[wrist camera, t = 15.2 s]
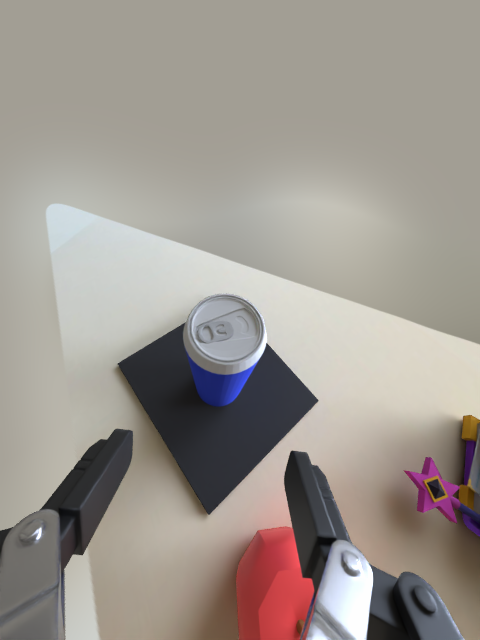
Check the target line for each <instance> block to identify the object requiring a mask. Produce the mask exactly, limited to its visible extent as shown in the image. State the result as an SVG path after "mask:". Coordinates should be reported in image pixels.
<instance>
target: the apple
mask: <svg viewBox="0 0 480 640" xmlns="http://www.w3.org/2000/svg"><path fill="white" fill-rule="evenodd" d="M236 587H237V608H238V628H239V640H299V639H300V635H301V632H302V629H303V625H304V622H305V619H306V615H307V612H308V609H309V605H310V602H311V599H312V595H313V593H314V587H313V582H312V579H310V578H303V577H302V572H301V567H300V562H299V557H298V552H297V547H296V542H295V537H294V532H293V528H290V527H286V526H285V527H278V528H272V529H265V530H258V531H257V533H256V535H255V536H254V538H253V540H252V541H251V543H250V545H249V547H248V548H247V550H246V552H245V553H244V555H243V557H242V559H241V560H240V562H239V566H238V571H237V576H236Z"/></svg>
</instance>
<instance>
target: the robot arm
mask: <svg viewBox="0 0 480 640" xmlns="http://www.w3.org/2000/svg"><path fill="white" fill-rule="evenodd" d="M132 446H133V431H131V430H123V429H115V430H114V431H113V433H112V434H111V435H110V437H109V438H108V440H103V439H101V440H99V441H98V442H96V443H95V444H94V445H92V446H91V447H90V448H89V449H88V450H87V451H86V453H85V454H84V455H83V456H82V458H81V460H79V461H78V463H77V464H76V465H75V467H74V469H73V470H71V472H70V473H69V474H68V475H67V477H66V478H65V479H64V481H63V482H62V483H61V484H60V486H59V487H58V488H57V489H56V491H55V492H54V493H53V494H52V496H51V497H50V498H49V500H48V501H47V502H46V504H45V505H44V506H43V507H42V508H41V509H40V510H39V511H37V512H34V513H32V514H30V515H28V516H27V517H25V518H24V519H22V520H21V521H20V522H19V523H18V524H16V525H15V526H14V527H12V528H9V529H5V530H2V531H0V640H65V581H64V580H65V578H64V577H65V574H64V569H65V567H66V565H67V564H68V562H69V560H70V558H71V556H72V555H73V554H76V555H83V554H84V552H85V550H86V548H87V546H88V544H89V542H90V540H91V538H92V537H93V535H94V533H95V531H96V529H97V527H98V525H99V523H100V521H101V519H102V518H103V516H104V514H105V512H106V510H107V508H108V506H109V504H110V502H111V500H112V498H113V497H114V495H115V493H116V491H117V489H118V487H119V485H120V483H121V481H122V479H123V478H124V476H125V474H126V472H127V470H128V468H129V465H130V462H131V459H132ZM284 485H285V491H286V496H287V501H288V507H289V512H290V517H291V522H292V527H293V532H294V537H295V542H296V547H297V552H298V557H299V562H300V567H301V572H302V577H303V578H310V579H312V582H313V587H314V593H313V595H312V599H311V602H310V605H309V609H308V612H307V615H306V619H305V622H304V625H303V629H302V632H301V635H300V639H299V640H464V638H463V637H462V635H461V633H460V631H459V629H458V628H457V626H456V624H455V622H454V620H453V619H452V617H451V615H450V613H449V611H448V610H447V608H446V606H445V604H444V603H443V601H442V599H441V598H440V596H439V595H438V594H437V593H436V591H435V590H434V589H433V588H432V587H431V586H430V585H429V584H428V583H427V582H426V581H425V580H424V579H422V578H421V577H419V576H418V575H416V574H414V573H411V572H403V573H401V575H400V576H399V578H396V577H394V576H392V575H389V574H387V573H385V572H383V571H381V570H379V569H377V568H376V567H374V566H372V565H371V564H369V563H368V561H367V560H366V558H365V556H364V555H363V554H362V553H361V551H360V550H359V549H358V548H357V547H355V546H354V545H353V544H352V542H351V540H350V537H349V535H348V532H347V530H346V527H345V525H344V522H343V520H342V517H341V515H340V512H339V510H338V507H337V504H336V502H335V500H334V497H333V494H332V492H331V490H330V487H329V484H328V482H327V479H326V476H325V475H324V474H323V472H322V471H321V470H320V469H319V467H318V466H315V465H311V462H310V459H309V456H308V454H307V453H306V452H298V451H291V453H290V456H289V460H288V463H287V467H286V471H285V476H284Z"/></svg>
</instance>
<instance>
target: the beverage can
mask: <svg viewBox="0 0 480 640" xmlns="http://www.w3.org/2000/svg"><path fill="white" fill-rule="evenodd" d="M183 341H184V346H185V349H186V353H187V357H188V360H189V364H190V367H191V371H192V375H193V378H194V382H195V385H196V389H197V392H198V394H199V396H200V398H201V399H202V400H203V401H204V402H206V403H207V404H209V405H212V406H218V407H219V406H225V405H227V404H230V403H231V402H233V401H234V400H235V399H236V397H237V396H238V394H239V393H240V391H241V389H242V388H243V386H244V384H245V383H246V381H247V379H248V377H249V376H250V374H251V372H252V371H253V369H254V367H255V366H256V364H257V362H258V361H259V359H260V357H261V356H262V354H263V352H264V349H265V346H266V341H267V334H266V328H265V324H264V320H263V317H262V316H261V314H260V312H259V311H258V309H257V308H256V307H255V306H254V305H253V304H252V303H250V302H249V301H248V300H246V299H244V298H242V297H240V296H237V295H233V294H216V295H212V296H209V297H207V298H205V299H203V300H202V301H200V302H199V303H198V304H197V305H196V306H195V307H194V308H193V310H192V311H191V313H190V315H189V317H188V319H187V321H186V323H185V326H184V331H183Z"/></svg>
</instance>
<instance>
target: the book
mask: <svg viewBox="0 0 480 640" xmlns="http://www.w3.org/2000/svg"><path fill="white" fill-rule="evenodd" d="M462 438H463V439H464V440H466V441H467V443H466V459H465V475H464V485H460V487H459V486H457V485H454V484H452V483H449V482H447V481H444V480H442V478H441V476H440V474H439V472H438V470H437V468H436V466H435V464H434V461H433V459H432V458H431V457H426V458H425V462H424V465H423V469H422V473H421V474H419V473H415V472H410V471H404V472H405V473H406V474H407V475H408V477H409V478H410V479H411V480H412V482H413V483H414V484H415V485H416V487H417V488H418V489H419V491H418V503H417V511H419V512H422V513H424V512H426V511H428V510H431V509H433V508H435V507H436V508H437V509H438V510H439V511H440V512H441V513H442V514H443V515H444V516H445V517H446V518H447V519H448V520H449V521H452V522H454V523H457V521H456V518H455V514H454V511H453V508H455V509H458V510H460V511H461V512H462V516H463V521H464V523H465V525H466V526H467V527H468V528H469V529H470V530H471V531H473V532H474V533H475V534H477V535H478V536H480V420H479V419H477V418H475V417H474V416H472V415H468V416H463V428H462ZM458 489H459V500H458V499H456V498H455V497H453V496H452V495H453V494H454V493H455V492H456V491H457V490H458Z"/></svg>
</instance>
